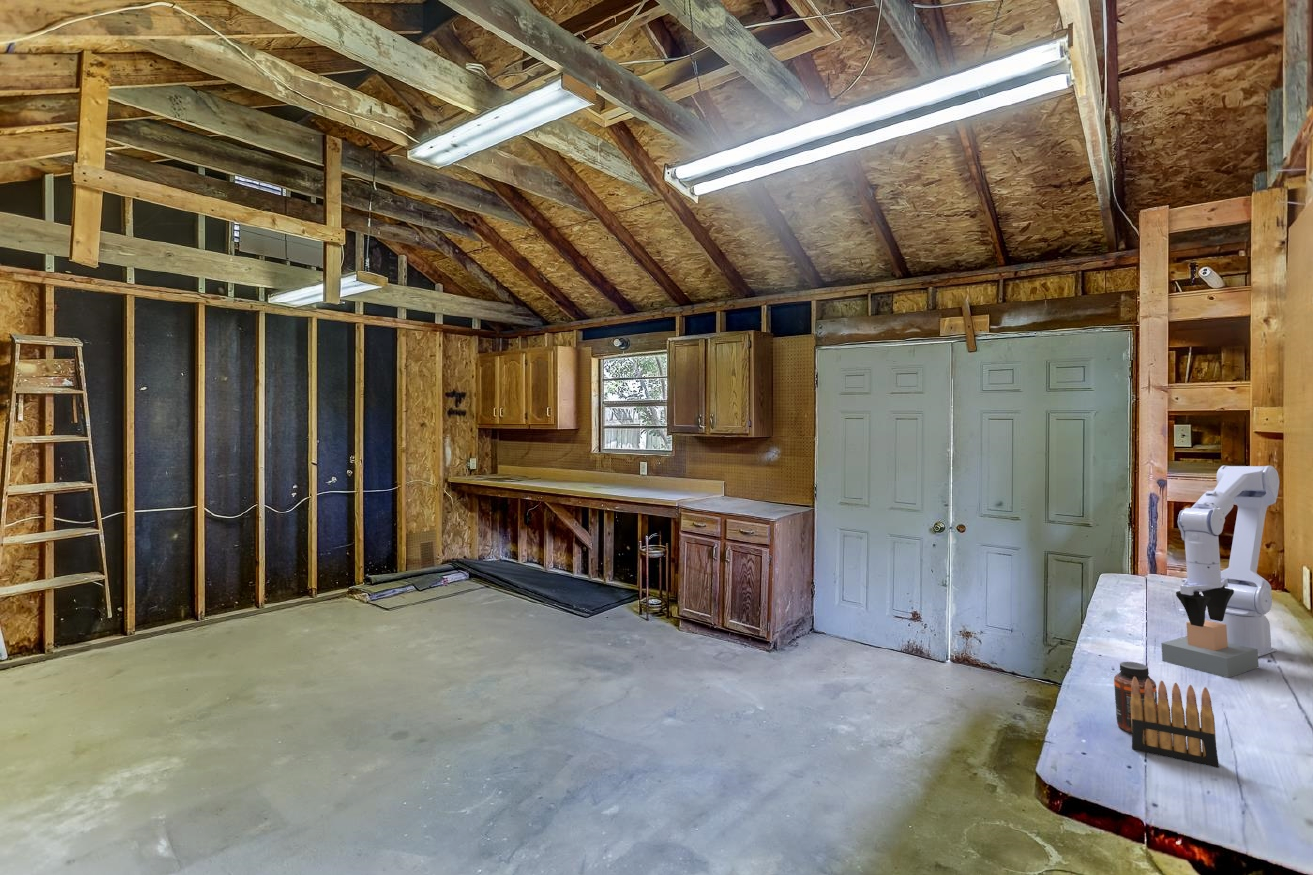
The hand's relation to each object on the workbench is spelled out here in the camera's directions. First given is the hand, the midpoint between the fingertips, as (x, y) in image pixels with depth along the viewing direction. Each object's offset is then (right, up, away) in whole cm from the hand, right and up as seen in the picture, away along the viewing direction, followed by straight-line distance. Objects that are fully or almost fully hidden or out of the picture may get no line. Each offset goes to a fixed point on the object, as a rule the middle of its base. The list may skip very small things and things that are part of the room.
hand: (1206, 622), depth 137 cm
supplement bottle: (-38, -11, -28) cm, 48 cm away
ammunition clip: (-39, -10, -38) cm, 55 cm away
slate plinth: (0, -9, 0) cm, 9 cm away
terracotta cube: (0, -5, 0) cm, 5 cm away
